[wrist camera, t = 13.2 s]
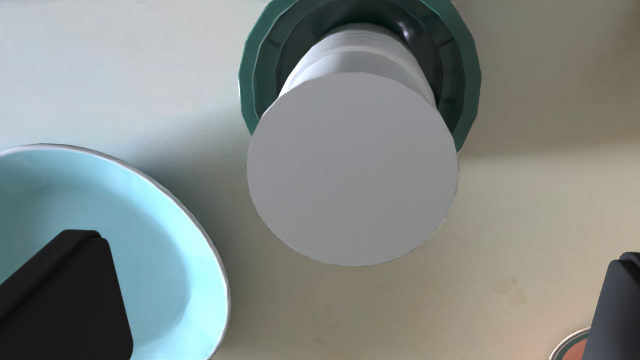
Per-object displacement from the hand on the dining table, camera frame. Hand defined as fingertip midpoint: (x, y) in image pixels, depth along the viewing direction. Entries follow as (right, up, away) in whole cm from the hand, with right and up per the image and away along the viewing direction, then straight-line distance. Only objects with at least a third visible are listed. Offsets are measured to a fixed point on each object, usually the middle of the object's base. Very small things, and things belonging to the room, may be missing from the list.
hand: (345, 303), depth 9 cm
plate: (-18, -4, +29) cm, 34 cm away
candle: (+2, +9, +20) cm, 22 cm away
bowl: (+2, +9, +20) cm, 22 cm away
